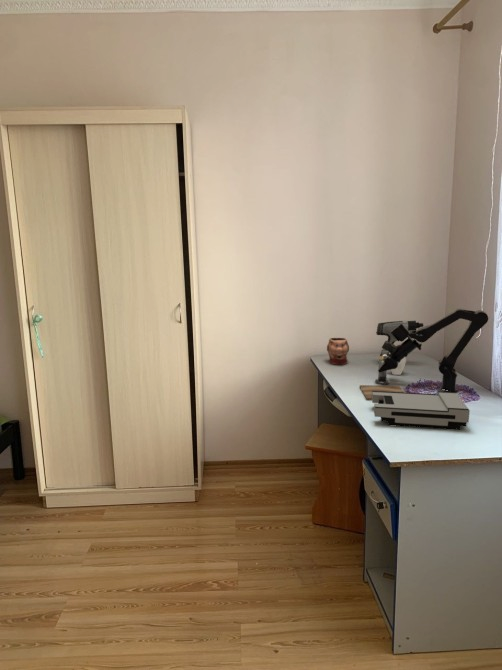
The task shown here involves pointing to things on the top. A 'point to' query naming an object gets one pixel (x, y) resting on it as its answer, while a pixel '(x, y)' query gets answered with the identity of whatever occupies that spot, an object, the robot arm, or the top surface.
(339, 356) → the decorative planter
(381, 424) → the top surface
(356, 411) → the top surface
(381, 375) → the grey cylinder with base
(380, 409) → the retro console
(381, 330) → the cordless drill
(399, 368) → the mug
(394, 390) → the board
